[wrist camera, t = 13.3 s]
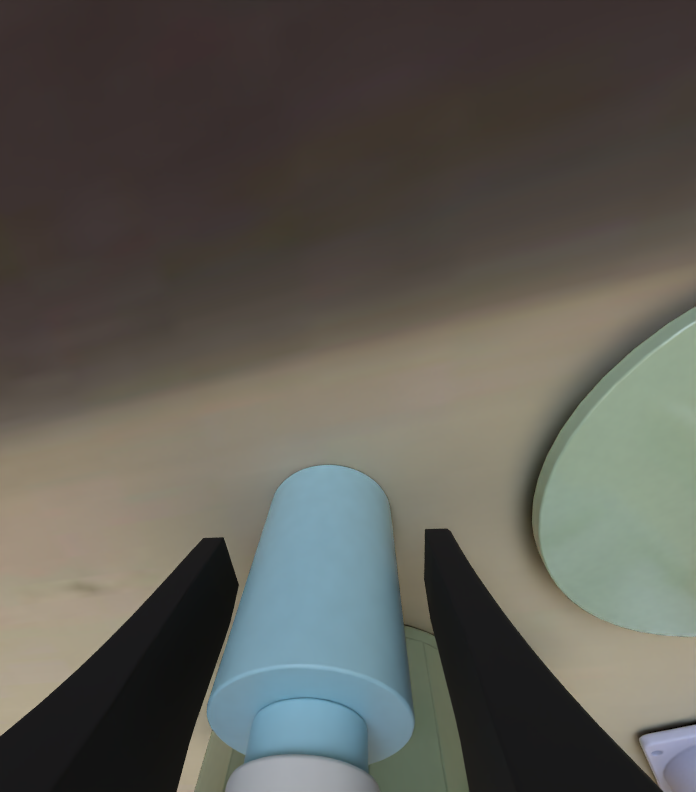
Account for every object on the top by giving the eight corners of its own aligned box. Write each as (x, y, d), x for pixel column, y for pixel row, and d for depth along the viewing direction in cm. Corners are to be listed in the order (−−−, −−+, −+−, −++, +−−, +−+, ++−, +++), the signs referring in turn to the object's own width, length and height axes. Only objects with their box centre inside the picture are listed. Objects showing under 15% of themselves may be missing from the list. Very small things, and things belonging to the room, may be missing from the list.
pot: (570, 713, 17) (649, 890, 12) (276, 778, 21) (253, 929, 16) (483, 559, 12) (554, 745, 8) (132, 679, 17) (48, 847, 12)
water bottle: (410, 530, 12) (476, 908, 5) (312, 567, 13) (263, 929, 6) (353, 444, 11) (346, 815, 4) (247, 493, 11) (93, 861, 5)
